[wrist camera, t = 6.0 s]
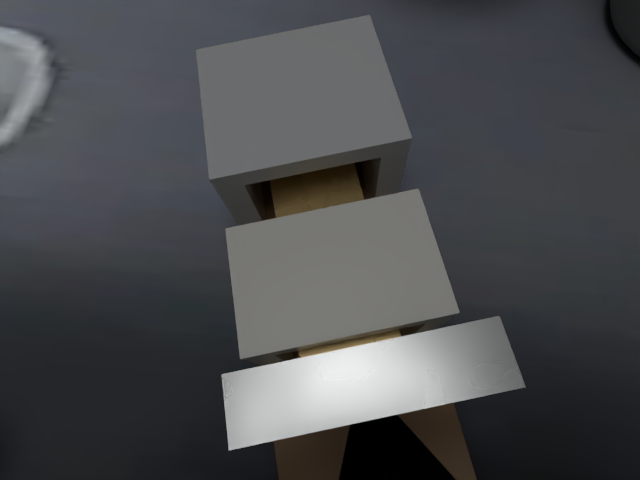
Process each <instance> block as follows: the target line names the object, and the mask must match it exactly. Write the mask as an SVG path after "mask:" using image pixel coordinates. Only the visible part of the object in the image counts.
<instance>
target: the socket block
mask: <svg viewBox="0 0 640 480" xmlns="http://www.w3.org/2000/svg"><path fill="white" fill-rule="evenodd" d="M196 55H197V65H198V75H199V84H200V94H201V104H202V113H203V123H204V133H205V142H206V152H207V162H208V171H209V180H210V181H211V183H212V184H213V186H214V188H215V189H216V191H217V192H218V194H219V195H220V197H221V198H222V200H223V201H224V203H225V204H226V206H227V207H228V209H229V211H230V212H231V214H232V215H233V217H234V218H235V220H236V221H237V223H238V224H239V226H240V225H245V224H249V223H254V222H259V221H264V220H267V218H266V211H265V205H264V199H263V193H262V186H261V182H263V181H268V180H273V179H278V178H283V177H287V176H292V175H297V174H302V173H307V172H312V171H317V170H322V169H326V168H331V167H336V166H341V165H346V164H351V163H356V162H359V165H360V169H361V173H362V176H363V180H364V184H365V187H366V191H367V194H368V198H369V199H371V198H375V197H380V196H385V195H390V194H395V193H398V191H399V187H400V183H401V179H402V175H403V171H404V167H405V164H406V160H407V156H408V152H409V148H410V144H411V141H412V136H411V133H410V130H409V128H408V125H407V122H406V119H405V116H404V113H403V110H402V107H401V104H400V101H399V99H398V96H397V93H396V90H395V87H394V84H393V81H392V78H391V75H390V72H389V70H388V67H387V64H386V61H385V58H384V55H383V52H382V49H381V46H380V43H379V41H378V38H377V35H376V32H375V29H374V26H373V23H372V20H371V17H370V15H367V16H362V17H357V18H352V19H347V20H342V21H337V22H332V23H327V24H322V25H317V26H312V27H307V28H302V29H297V30H292V31H287V32H282V33H277V34H272V35H267V36H262V37H257V38H252V39H247V40H242V41H237V42H232V43H227V44H222V45H217V46H212V47H207V48H202V49H197V50H196Z"/></svg>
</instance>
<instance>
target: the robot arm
mask: <svg viewBox="0 0 640 480" xmlns="http://www.w3.org/2000/svg"><path fill="white" fill-rule="evenodd" d="M339 480H456V479H455V478H454V477H453V476H452V475H451V474H450V472H449V471H448V470H447V469H446V468H445V467H444V466H443V465H442V464H441V462H440V461H439V460H438V459H437V458H436V457H435V456H434V455H433V454H432V452H431V451H430V450H429V449H428V448H427V447H426V446H425V445H424V444H423V442H422V441H421V440H420V439H419V438H418V437H417V436H416V435H415V434H414V432H413V431H412V430H411V429H410V428H409V427H408V426H407V425H406V424H405V422H404V421H403V420H402V419H401V418H400V417H399V416H398V415H393V416H388V417H383V418H379V419H374V420H369V421H365V422H360V423H355V424H351V425H350V427H349V432H348V436H347V441H346V446H345V451H344V456H343V461H342V465H341V470H340V475H339Z"/></svg>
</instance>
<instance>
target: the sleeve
mask: <svg viewBox="0 0 640 480" xmlns="http://www.w3.org/2000/svg"><path fill="white" fill-rule="evenodd" d="M225 230H226V239H227V248H228V256H229V265H230V274H231V283H232V291H233V300H234V309H235V318H236V326H237V335H238V344H239V352H240V359H242V360H245V361H248V362H252V363H255V364H259V365H262V366H264V365H269V364H273V363H278V362H283V361H288V360H292V359H294V357H293V351H298V350H303V349H307V348H312V347H317V346H322V345H326V344H331V343H336V342H341V341H345V340H350V339H355V338H360V337H364V336H369V335H374V334H379V333H383V332H388V331H393V330H398V329H400V333H401V337H402V336H406V335H411V334H416V333H421V332H425V331H430V330H435V329H437V328H438V327H440V326H441V325H443V324H444V323H446V322H447V321H449V320H450V319H452V318H453V317H455V316H456V315H458V314H459V313H460V312H459V309H458V306H457V303H456V300H455V297H454V294H453V291H452V288H451V285H450V282H449V279H448V276H447V273H446V270H445V267H444V264H443V261H442V258H441V255H440V252H439V249H438V246H437V243H436V240H435V237H434V234H433V231H432V228H431V225H430V222H429V219H428V216H427V213H426V210H425V207H424V204H423V201H422V198H421V195H420V192H419V189H414V190H409V191H404V192H400V193H395V194H390V195H385V196H380V197H375V198H371V199H366V200H361V201H356V202H351V203H346V204H341V205H337V206H332V207H327V208H322V209H317V210H312V211H308V212H303V213H298V214H293V215H288V216H283V217H278V218H274V219H269V220H264V221H259V222H254V223H249V224H245V225H240V226H235V227H230V228H225Z"/></svg>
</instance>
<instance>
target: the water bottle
mask: <svg viewBox="0 0 640 480" xmlns="http://www.w3.org/2000/svg"><path fill="white" fill-rule="evenodd" d="M610 16H611V19H612V22H613V25H614V28H615V30H616V31H617V33H618V35H619V36H620V38H621V39H622V41H623V42H624V43H625V44H626V45H627V46H628V47H629V48H630V49H631V50H632V51H633V52H634V53H635V54H636V55H638V56H639V57H640V0H610Z"/></svg>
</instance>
